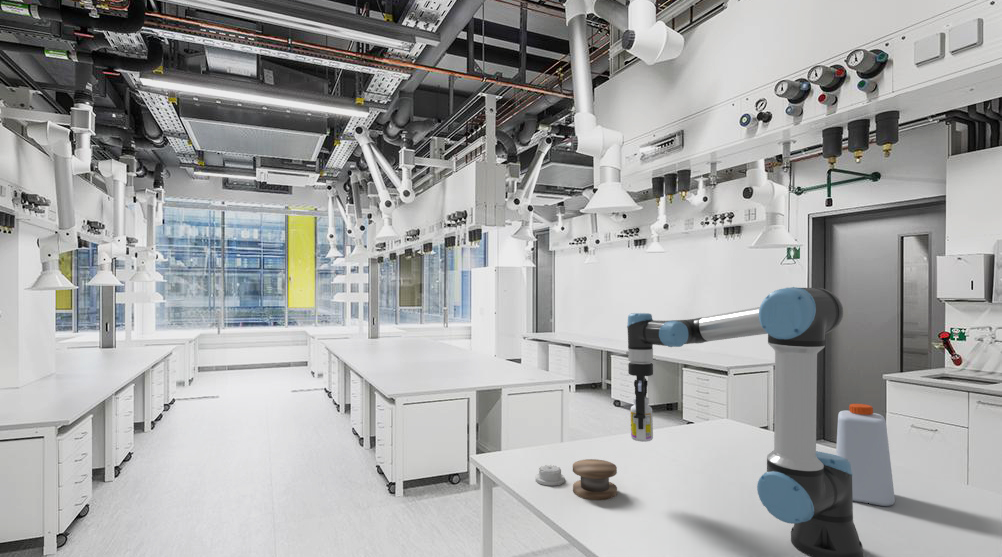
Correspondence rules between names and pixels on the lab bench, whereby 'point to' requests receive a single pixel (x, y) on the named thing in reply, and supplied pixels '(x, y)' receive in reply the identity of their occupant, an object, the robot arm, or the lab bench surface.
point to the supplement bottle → (647, 419)
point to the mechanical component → (550, 475)
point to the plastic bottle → (866, 454)
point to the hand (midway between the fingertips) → (641, 435)
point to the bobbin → (594, 479)
